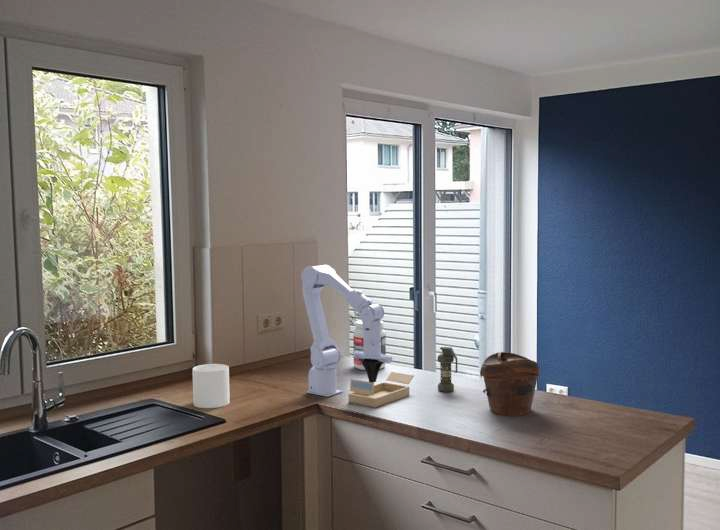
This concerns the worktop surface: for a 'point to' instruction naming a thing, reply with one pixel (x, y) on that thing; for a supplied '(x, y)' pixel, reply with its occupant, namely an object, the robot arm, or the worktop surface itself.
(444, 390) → the grenade
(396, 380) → the far flap
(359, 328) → the supplement tub
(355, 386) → the near flap
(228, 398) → the white cylinder
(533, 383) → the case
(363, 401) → the light wood shallow tray
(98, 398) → the worktop surface
